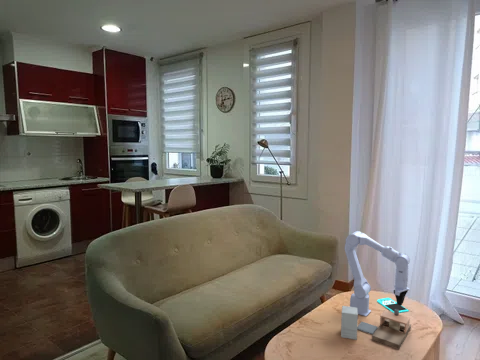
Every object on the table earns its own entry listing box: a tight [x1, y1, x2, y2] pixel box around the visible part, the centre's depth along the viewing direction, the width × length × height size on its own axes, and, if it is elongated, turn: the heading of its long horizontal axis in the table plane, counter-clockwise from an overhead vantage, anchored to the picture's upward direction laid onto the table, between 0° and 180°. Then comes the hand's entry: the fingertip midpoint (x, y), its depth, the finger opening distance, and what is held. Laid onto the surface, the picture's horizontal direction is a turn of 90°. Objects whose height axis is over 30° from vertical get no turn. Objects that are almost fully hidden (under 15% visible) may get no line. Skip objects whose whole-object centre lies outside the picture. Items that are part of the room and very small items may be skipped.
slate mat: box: [357, 321, 379, 336], centre depth 169 cm, size 8×8×1 cm
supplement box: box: [340, 305, 359, 341], centre depth 162 cm, size 7×7×13 cm
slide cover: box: [379, 309, 411, 333], centre depth 166 cm, size 12×7×7 cm, turn 51°
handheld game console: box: [376, 297, 410, 314], centre depth 192 cm, size 10×16×1 cm, turn 16°
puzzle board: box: [371, 319, 412, 350], centre depth 164 cm, size 12×22×2 cm, turn 141°
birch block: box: [388, 320, 401, 331], centre depth 167 cm, size 4×4×6 cm
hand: (399, 303), depth 172 cm, fingers closed
